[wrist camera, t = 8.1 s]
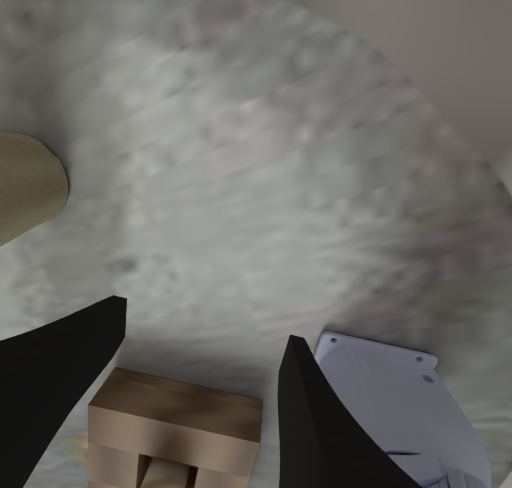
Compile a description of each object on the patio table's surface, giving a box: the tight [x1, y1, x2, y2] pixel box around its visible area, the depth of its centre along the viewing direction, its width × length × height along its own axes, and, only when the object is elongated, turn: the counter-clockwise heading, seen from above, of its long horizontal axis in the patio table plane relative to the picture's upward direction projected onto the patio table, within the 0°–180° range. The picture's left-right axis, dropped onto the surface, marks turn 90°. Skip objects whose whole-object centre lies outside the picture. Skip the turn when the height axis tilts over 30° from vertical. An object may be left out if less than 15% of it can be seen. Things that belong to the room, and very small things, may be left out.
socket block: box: [88, 368, 263, 488], centre depth 27 cm, size 14×14×4 cm
